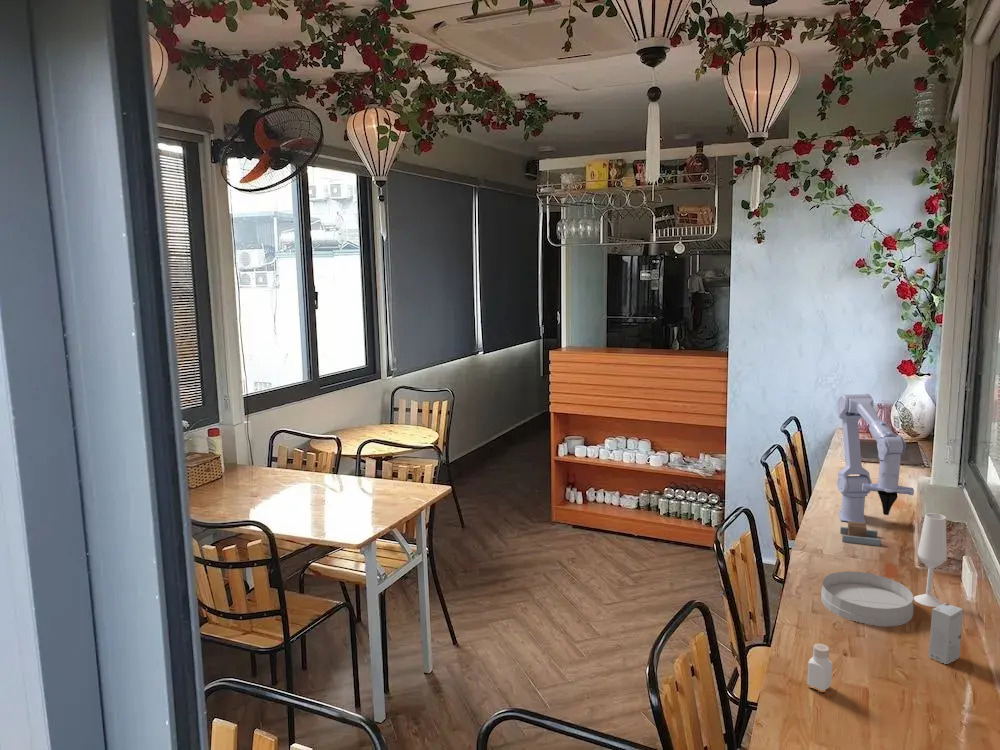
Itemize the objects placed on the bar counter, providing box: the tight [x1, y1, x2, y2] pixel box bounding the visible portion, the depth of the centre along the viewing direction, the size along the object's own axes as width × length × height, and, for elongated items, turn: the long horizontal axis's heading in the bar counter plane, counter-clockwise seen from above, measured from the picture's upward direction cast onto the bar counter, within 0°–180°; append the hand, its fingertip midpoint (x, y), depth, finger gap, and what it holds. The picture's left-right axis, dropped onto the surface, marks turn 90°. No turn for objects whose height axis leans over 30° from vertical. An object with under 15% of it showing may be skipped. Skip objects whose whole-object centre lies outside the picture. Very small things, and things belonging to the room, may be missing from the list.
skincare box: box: [928, 602, 964, 665], centre depth 171 cm, size 6×4×12 cm
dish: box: [820, 571, 914, 627], centre depth 197 cm, size 22×22×5 cm
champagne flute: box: [913, 512, 948, 608], centre depth 197 cm, size 7×7×24 cm
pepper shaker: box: [806, 643, 833, 690], centre depth 160 cm, size 4×4×10 cm
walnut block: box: [846, 521, 868, 537], centre depth 241 cm, size 4×5×5 cm
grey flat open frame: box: [839, 526, 881, 547], centre depth 241 cm, size 8×11×2 cm
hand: (885, 513), depth 237 cm, fingers closed
